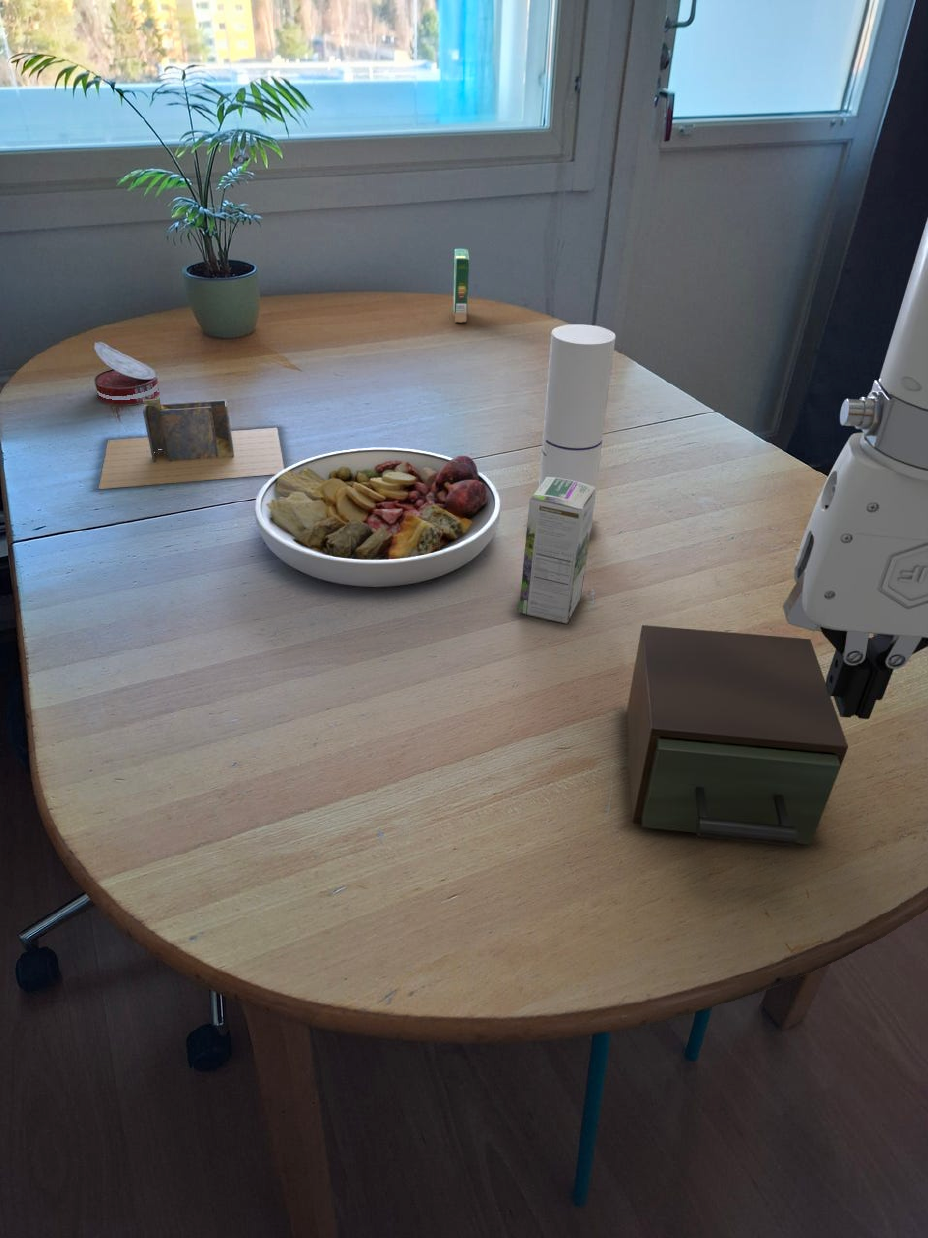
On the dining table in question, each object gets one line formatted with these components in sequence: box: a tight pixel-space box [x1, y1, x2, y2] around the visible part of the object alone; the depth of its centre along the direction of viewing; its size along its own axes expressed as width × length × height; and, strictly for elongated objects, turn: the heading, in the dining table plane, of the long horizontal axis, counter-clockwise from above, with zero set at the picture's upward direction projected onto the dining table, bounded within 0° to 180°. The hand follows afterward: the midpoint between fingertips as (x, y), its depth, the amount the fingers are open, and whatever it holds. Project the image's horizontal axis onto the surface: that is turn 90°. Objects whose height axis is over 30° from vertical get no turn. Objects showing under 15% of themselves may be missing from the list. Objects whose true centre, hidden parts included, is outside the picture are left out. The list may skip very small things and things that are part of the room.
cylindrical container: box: [538, 323, 617, 534], centre depth 105 cm, size 7×7×25 cm
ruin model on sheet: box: [98, 397, 285, 490], centre depth 124 cm, size 25×16×10 cm, turn 104°
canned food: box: [93, 341, 161, 407], centre depth 144 cm, size 11×10×10 cm
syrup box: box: [518, 477, 598, 625], centre depth 94 cm, size 6×6×14 cm
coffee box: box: [453, 248, 470, 314], centre depth 181 cm, size 8×3×13 cm, turn 2°
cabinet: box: [625, 624, 849, 841], centre depth 74 cm, size 14×15×11 cm
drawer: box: [641, 737, 841, 847], centre depth 71 cm, size 17×13×9 cm
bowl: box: [254, 447, 502, 588], centre depth 108 cm, size 30×30×8 cm
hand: (848, 702), depth 54 cm, fingers closed
